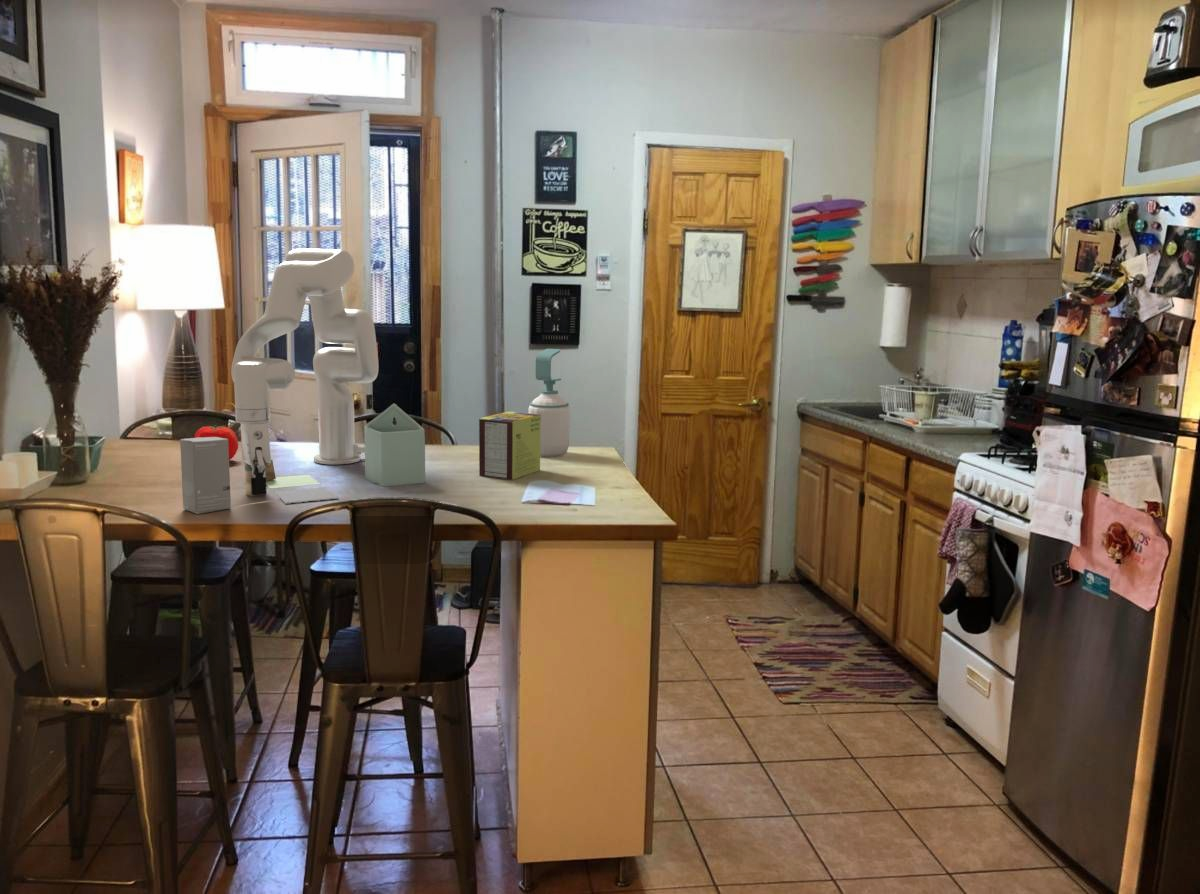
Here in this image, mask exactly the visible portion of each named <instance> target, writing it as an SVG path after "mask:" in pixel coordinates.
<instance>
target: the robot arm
mask: <svg viewBox="0 0 1200 894" xmlns="http://www.w3.org/2000/svg"><path fill="white" fill-rule="evenodd" d="M354 272H355V262H354V258H353V256H352V255H351V254H350V252H348V251H347V250H345V249H336V248H314V247H313V248H307V247H304V248H295V249H292V250H290V251H288V253H286V256H285V261H283V262H281V263H279V264H278V265H277V267H276V268H275V271H274V274H273V278H272V282H271V286H270V289H269V292H268V298H267V301H266V304H265V308H264V309H265V310H264V313H263V315H262V316H261V317H260V318H259V319H258V320H257V321H255V322H254V323H253V324H251V326H250V327H249V328H248V329H247V330H246V331H245V332H244V333H243V334H242V335H241V337H240V338H239V340H238V342H237V344H236V347H235V351H234V355H233V359H232V364H231V371H230V375H231V378H232V381H233V383H234V384H233V387H234V406H235V407H234V408H235V410H234V411H235V423H237V424H240V443H241V445H240V446H241V447H240V448H241V457H242V460H243V461H244V462H246V465H250V466H251V469H252V478H251V491H252V495H259V496H261V495H260V494H264V495H266V494H267V485H266V475H265V466H264V462H265V463H266V464H267V465H269V464H270V463H271V460H272V459H271V458H272V457H271V448H270V446H271V445H270V434H269V427H268V423H269V422H271V403H270V401H271V400H270V399H271V398H270V391H284V390H287V389H288V388H289V387H291V386H292V385H293V383H294V382H295V378H296V372H295V368H294V366H293V364H292V363H291V362H289V361H288V360H285V359H282V358H270V357H269V358H268V357H256V356H257V354H258V352H259V350H260V349H261V348H262V347H263V346H264V345H266V344H267V343H268V342H270V341H272V340H274V339H277V338H279V337H281V336H283V335H286V334H288V333H291V332H293V331H295V330H297V328H299V327H300V324H301V320H302V316H303V312H304V307H305V304H306V300H307V297H308V298H309V303H310V304H309V305H310V310H311V318H312V319H311V320H312V324H313V330H314V331H313V332H314V334H315V337H316V340H318V341H319V342H320V343H324V344H333V345H351V346H353V347H348V346H347V347H346V346H327V347H323V348H320V349H319V350H317V351H316V352H315V354H314V355H313V358H312V366H313V372H314V376H315V381H316V389H317V416H318V417H317V418H318V420H317V421H318V442H319V443H318V445H319V446H318V447H319V451H318V453H319V454H317V455H315V456H313V462H315V463H316V464H321V465H333V466H334V465H347V464H354V463H358V462H360V461H361V460H362V459H361V458H362V457H361V456H362V455H361V454H362V453H364V454H365V445H359V444H357V443H356V441H355V439H356V438H355V402H354V395H353V393H352V391H351V388H349V386H348V383H349V384H351V383H352V384H370V383H373V382H375V380H376V379H377V377H378V375H379V369H380V368H379V356H378V355H379V354H378V347H377V336H376V329H375V322H374V321H373V317H372V316H371V314H370V313H369V312H367V311H366V310H363V309H359V308H358V309H357V308H347V307H345V303H344V297H343V292H342V287H344V286H345V285H346V284H347V283H349V281H350V280H351V279H352V278H353V275H354ZM256 467H257V468H256ZM255 468H256V469H255ZM245 479H246V477H245Z"/></svg>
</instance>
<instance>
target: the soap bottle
mask: <svg viewBox="0 0 1200 894" xmlns="http://www.w3.org/2000/svg"><path fill="white" fill-rule="evenodd" d="M559 353H561V349H559V348H546V349H543V350H541V352H539V353H537V355H536V356H535V379H536V380H537V381H543V385H545V389H542V390H540V395H538V396H537V397H535V398H534V399H533V400H532V401H531V402H530V403H529V406H528V412H527V413H530V414H540V415H541V441H540V456H541V457H540V458H542V457H544V458H556V457H557V456H558V457H563V455H565V454H566V453H567V451H568V450H569V446H570V424H571V421H570V420H571V418H570V417H571V408H570V406H569V405H570V403H569V402H567V401H566V400H565V399H564V398H562V397H561V396H560V395H559V391H558V390H555V389H554V385H556V382H559V381H561V380H562V378H561V377H552V376H551V375H552V358H553V357H554V356H556V355H558V354H559ZM558 457H557V458H558Z"/></svg>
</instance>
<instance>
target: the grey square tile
mask: <svg viewBox="0 0 1200 894" xmlns="http://www.w3.org/2000/svg"><path fill="white" fill-rule="evenodd" d="M274 494H275V495H276V496H277V497H278V498H280V499H281V500H282V501H283V502H284V503H285V504H286V505H292V504H291V503H296V504H303V503H302V502H306V503H309V502H308V501H316V502H321V501H320V500H327V501H330V500H329V499H337V500H339V497H338V496H337V495H335V494H334V493H333V492H332V491H330V490H329V489H328V488H326V486H325V487H323V486H322V487H314V488H302V489H293V490H292V489H291V490H290V489H289V490H278V491H274ZM280 499H279V500H280ZM281 500H280V501H281ZM282 501H281V502H282ZM283 502H282V503H283ZM284 503H283V504H284ZM285 504H284V505H285Z"/></svg>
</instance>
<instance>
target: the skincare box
mask: <svg viewBox="0 0 1200 894" xmlns="http://www.w3.org/2000/svg"><path fill="white" fill-rule="evenodd" d="M179 443H180V445H179V446H180V463H181V465H180V468H181V486H182V487H181V489H182V508H183V510H185V511H188V512H190V513H191V512H192V513H194V514H196V515H201V514H207V513H211V512H217V511H223V510H228V509H229V510H230V509H231V508H232V507H231V505H232V504H231V478H230V477H231V475H230V460H229V447H228V439H225V438H219V437H204V438H202V437H200V438H194V437H190V438H181V439H179Z"/></svg>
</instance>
